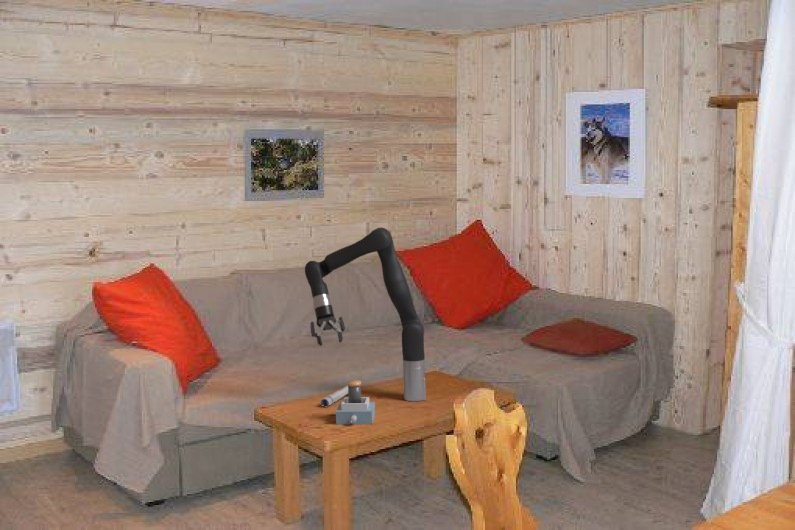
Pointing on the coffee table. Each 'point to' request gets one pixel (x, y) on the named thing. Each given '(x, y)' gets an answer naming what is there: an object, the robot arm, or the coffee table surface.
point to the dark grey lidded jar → (354, 391)
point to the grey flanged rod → (334, 396)
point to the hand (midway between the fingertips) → (330, 343)
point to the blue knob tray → (355, 412)
